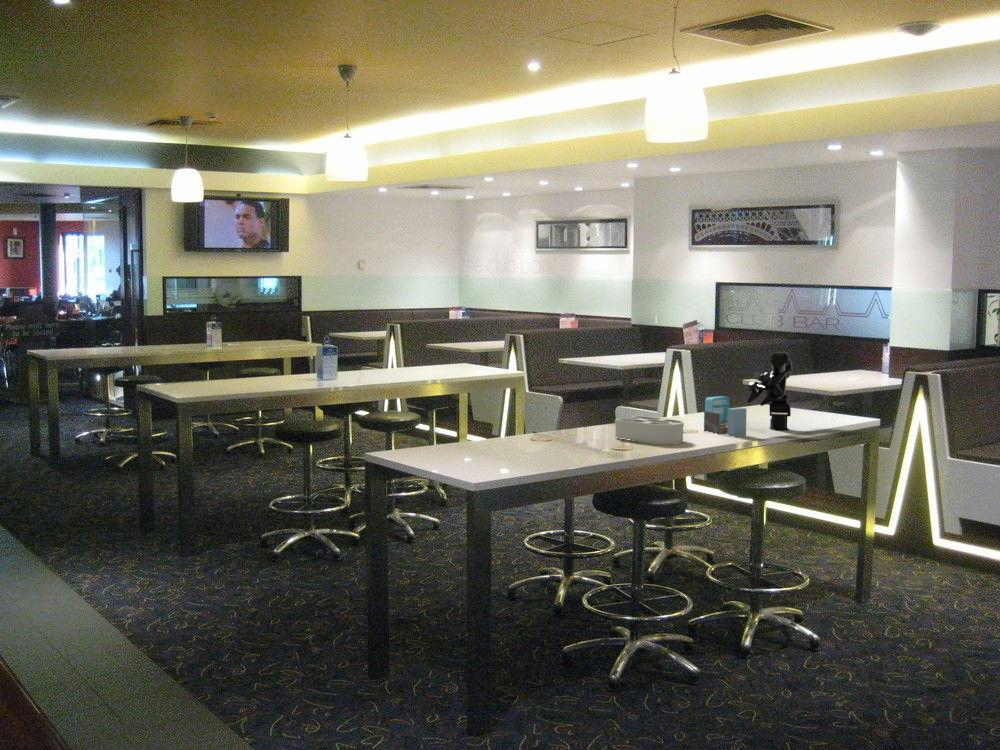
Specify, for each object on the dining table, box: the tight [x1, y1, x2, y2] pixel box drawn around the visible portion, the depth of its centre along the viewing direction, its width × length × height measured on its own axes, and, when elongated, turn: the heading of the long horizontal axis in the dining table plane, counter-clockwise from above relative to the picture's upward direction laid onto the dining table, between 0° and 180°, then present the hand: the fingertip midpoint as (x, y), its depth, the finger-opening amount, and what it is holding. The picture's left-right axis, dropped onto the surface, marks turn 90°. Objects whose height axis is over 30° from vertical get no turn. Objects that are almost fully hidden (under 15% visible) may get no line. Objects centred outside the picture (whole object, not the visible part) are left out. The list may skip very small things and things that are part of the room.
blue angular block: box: [726, 407, 747, 438], centre depth 440 cm, size 7×4×12 cm, turn 114°
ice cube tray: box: [614, 415, 684, 445], centre depth 431 cm, size 17×28×9 cm, turn 44°
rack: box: [703, 410, 727, 435], centre depth 452 cm, size 11×10×9 cm
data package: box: [704, 395, 730, 423], centre depth 482 cm, size 12×4×12 cm, turn 125°
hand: (754, 403), depth 444 cm, fingers open, 9 cm apart
